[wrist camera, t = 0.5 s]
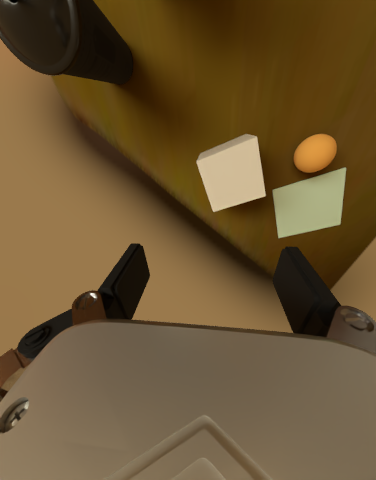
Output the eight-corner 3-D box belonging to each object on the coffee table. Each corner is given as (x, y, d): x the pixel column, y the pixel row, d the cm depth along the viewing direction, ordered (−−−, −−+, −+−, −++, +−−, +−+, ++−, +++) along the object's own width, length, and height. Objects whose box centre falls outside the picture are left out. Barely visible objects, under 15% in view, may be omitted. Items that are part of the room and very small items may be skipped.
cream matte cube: (246, 133, 26) (256, 136, 20) (254, 180, 30) (265, 196, 23) (200, 153, 28) (196, 161, 22) (213, 194, 32) (213, 211, 26)
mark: (345, 167, 27) (346, 167, 27) (339, 223, 32) (340, 224, 32) (272, 189, 30) (272, 190, 30) (278, 237, 36) (278, 238, 35)
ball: (325, 127, 24) (347, 127, 20) (324, 161, 27) (343, 168, 23) (287, 141, 26) (301, 144, 22) (289, 173, 28) (302, 181, 24)
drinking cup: (119, -1, 20) (-289, -545, 4) (153, 77, 24) (17, -28, 7) (77, 43, 23) (-271, -166, 6) (113, 107, 26) (-51, 78, 10)
